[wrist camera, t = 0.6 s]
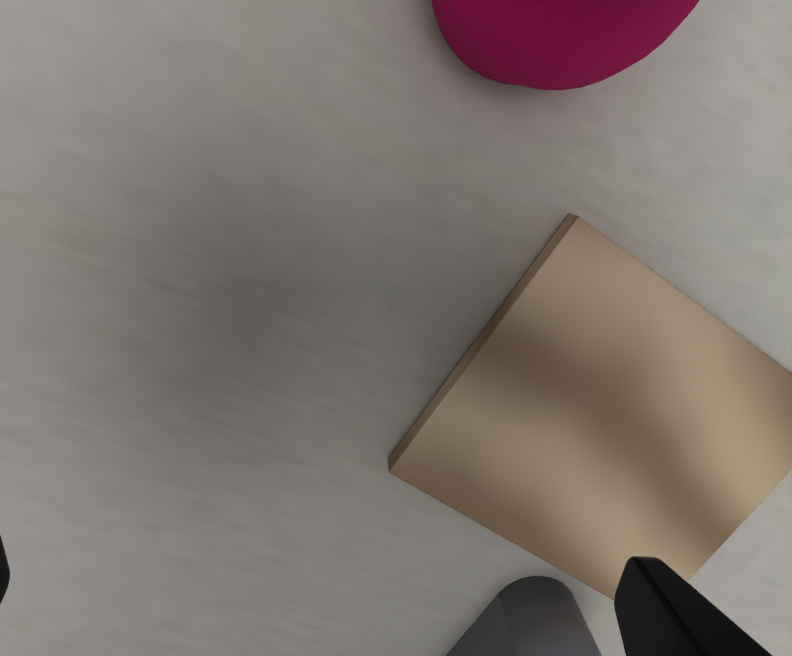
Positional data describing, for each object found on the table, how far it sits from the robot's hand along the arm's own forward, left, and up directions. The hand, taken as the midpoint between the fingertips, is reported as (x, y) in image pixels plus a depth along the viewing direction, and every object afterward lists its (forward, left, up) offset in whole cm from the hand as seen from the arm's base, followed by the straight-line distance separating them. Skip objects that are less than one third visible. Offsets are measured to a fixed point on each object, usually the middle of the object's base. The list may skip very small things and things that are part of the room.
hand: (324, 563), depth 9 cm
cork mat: (+1, -12, -15) cm, 19 cm away
